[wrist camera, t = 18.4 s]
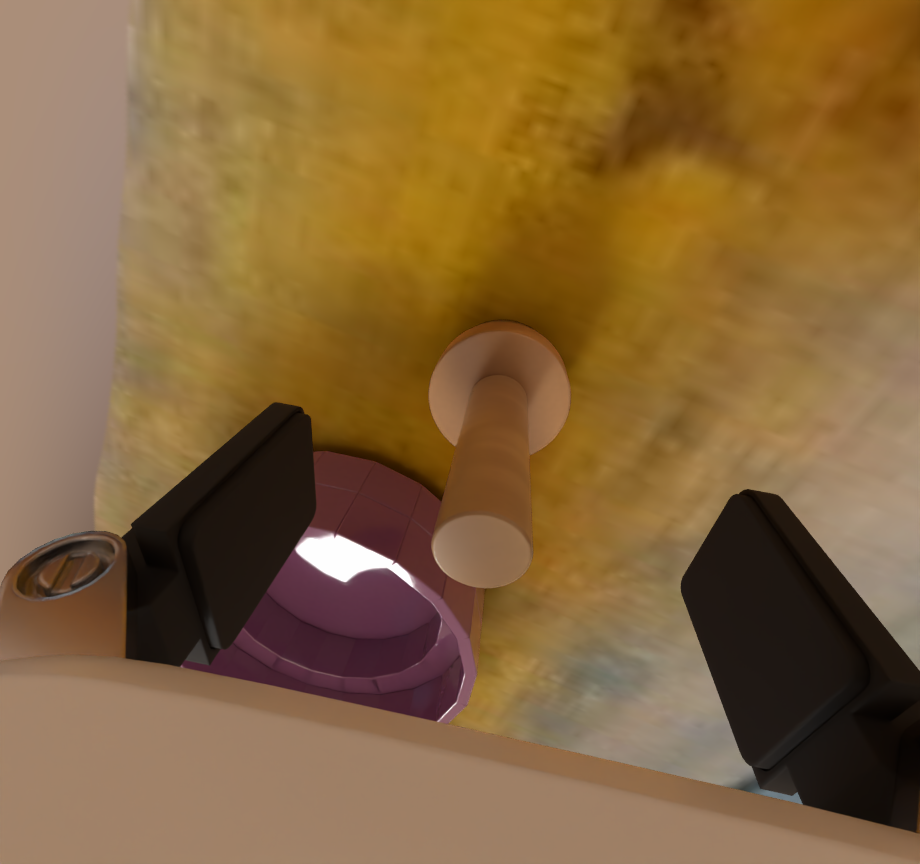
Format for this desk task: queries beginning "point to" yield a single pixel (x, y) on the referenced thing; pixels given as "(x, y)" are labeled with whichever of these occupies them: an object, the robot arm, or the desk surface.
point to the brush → (493, 446)
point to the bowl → (364, 603)
